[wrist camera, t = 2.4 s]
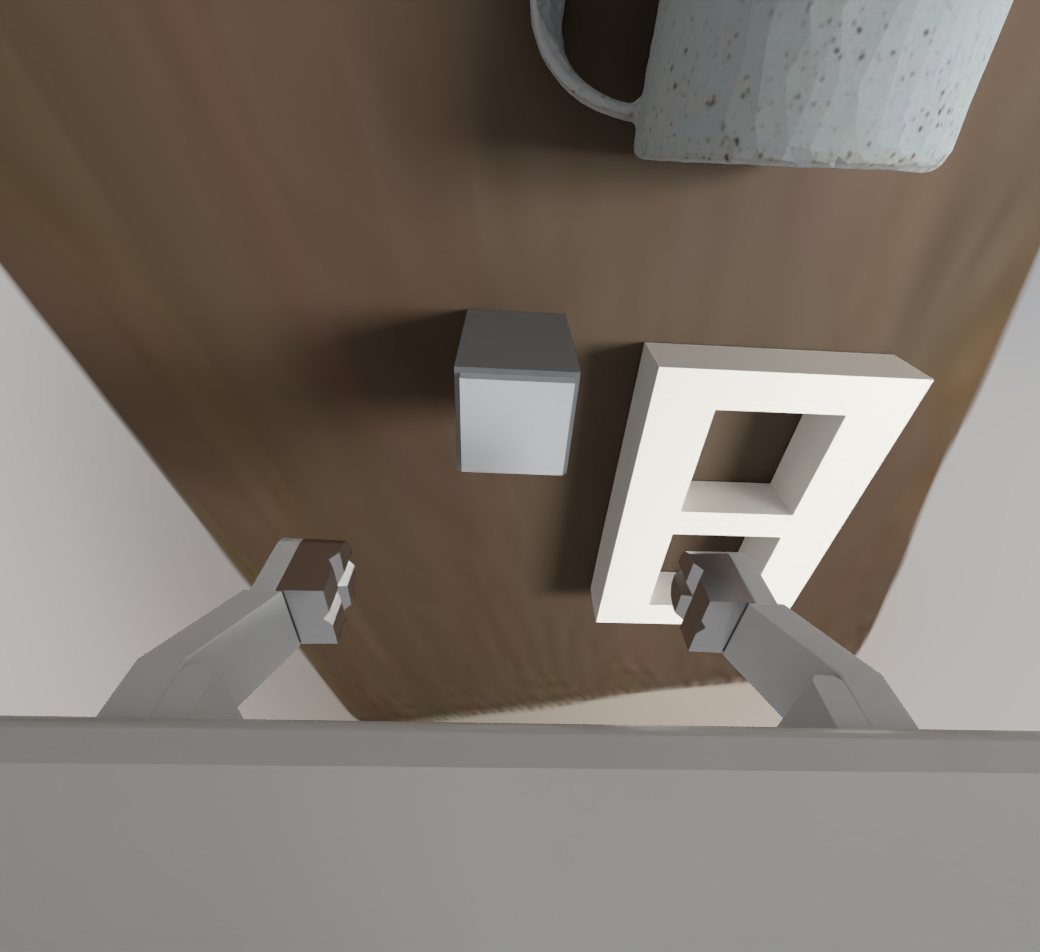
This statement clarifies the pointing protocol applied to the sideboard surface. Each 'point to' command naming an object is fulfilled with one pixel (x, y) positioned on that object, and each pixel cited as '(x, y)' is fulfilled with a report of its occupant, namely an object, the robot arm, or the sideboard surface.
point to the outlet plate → (738, 505)
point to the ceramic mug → (798, 80)
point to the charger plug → (515, 392)
